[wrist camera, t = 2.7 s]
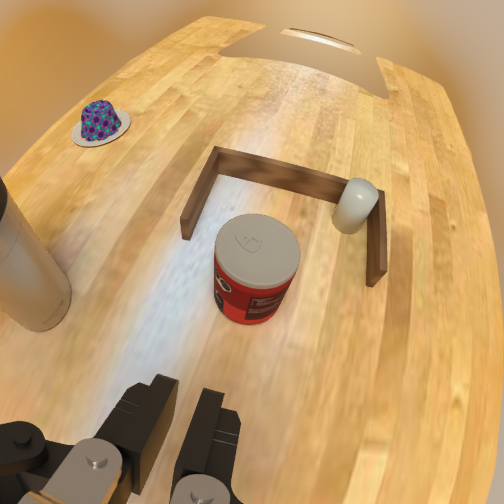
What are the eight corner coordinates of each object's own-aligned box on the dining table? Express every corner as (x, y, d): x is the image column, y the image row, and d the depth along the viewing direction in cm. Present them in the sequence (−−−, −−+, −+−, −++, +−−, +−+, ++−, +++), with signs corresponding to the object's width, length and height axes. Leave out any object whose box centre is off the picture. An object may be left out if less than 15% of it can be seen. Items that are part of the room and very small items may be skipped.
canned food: (226, 259, 41) (231, 202, 31) (286, 280, 40) (310, 229, 31) (203, 312, 36) (200, 266, 27) (268, 336, 36) (289, 298, 27)
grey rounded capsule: (326, 223, 46) (342, 191, 40) (338, 204, 48) (353, 172, 42) (354, 239, 45) (373, 209, 39) (364, 219, 47) (382, 189, 41)
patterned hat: (60, 145, 50) (53, 123, 45) (94, 109, 56) (90, 89, 52) (109, 154, 49) (103, 130, 45) (142, 115, 55) (139, 93, 51)
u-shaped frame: (182, 238, 41) (179, 217, 38) (213, 167, 49) (214, 146, 45) (372, 287, 41) (387, 271, 37) (373, 209, 48) (384, 191, 44)
